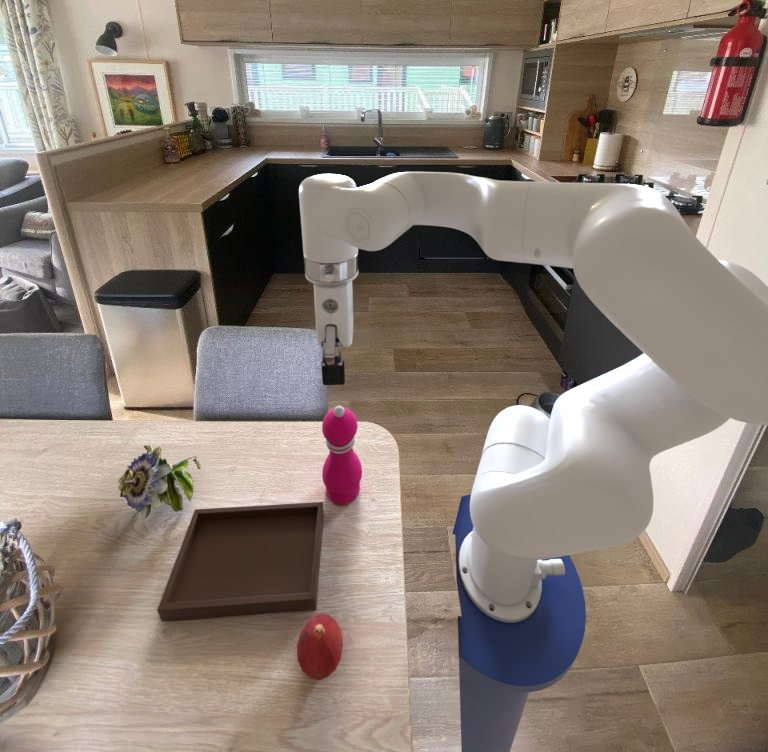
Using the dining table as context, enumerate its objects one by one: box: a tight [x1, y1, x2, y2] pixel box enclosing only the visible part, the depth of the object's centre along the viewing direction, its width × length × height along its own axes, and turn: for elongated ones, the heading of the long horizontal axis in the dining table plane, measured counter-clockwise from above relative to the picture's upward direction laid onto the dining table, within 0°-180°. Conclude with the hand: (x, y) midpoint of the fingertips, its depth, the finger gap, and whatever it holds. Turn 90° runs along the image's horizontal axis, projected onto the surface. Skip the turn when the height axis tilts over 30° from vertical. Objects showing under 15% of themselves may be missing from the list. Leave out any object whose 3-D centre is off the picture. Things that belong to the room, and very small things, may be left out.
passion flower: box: [117, 444, 202, 520], centre depth 70 cm, size 11×11×12 cm
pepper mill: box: [321, 405, 363, 506], centre depth 68 cm, size 7×7×20 cm
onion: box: [296, 613, 344, 681], centre depth 49 cm, size 6×6×8 cm
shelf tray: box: [156, 501, 325, 623], centre depth 61 cm, size 22×14×3 cm, turn 94°
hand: (335, 361), depth 61 cm, fingers open, 9 cm apart
